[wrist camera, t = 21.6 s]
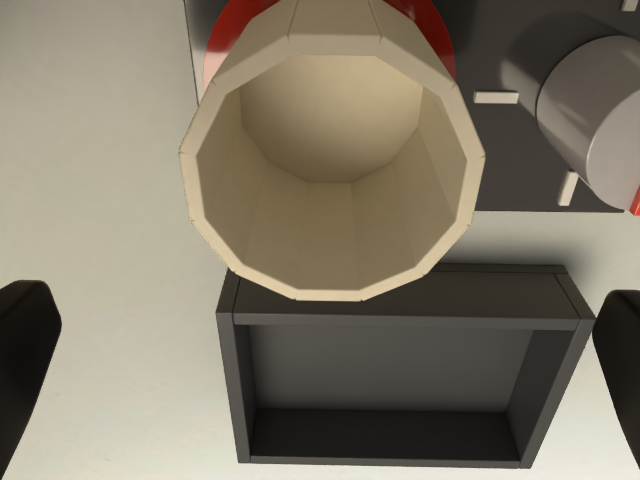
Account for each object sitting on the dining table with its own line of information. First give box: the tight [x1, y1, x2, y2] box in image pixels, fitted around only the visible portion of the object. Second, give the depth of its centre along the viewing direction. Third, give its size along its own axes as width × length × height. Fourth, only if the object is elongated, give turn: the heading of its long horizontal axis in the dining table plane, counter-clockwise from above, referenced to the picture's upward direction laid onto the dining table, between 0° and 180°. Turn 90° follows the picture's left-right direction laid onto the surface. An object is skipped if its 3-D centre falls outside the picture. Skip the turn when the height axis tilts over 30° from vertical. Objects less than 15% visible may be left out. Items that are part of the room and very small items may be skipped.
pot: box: [179, 0, 486, 301], centre depth 14 cm, size 7×7×6 cm
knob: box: [537, 35, 640, 216], centre depth 15 cm, size 4×4×4 cm
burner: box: [203, 0, 456, 93], centre depth 17 cm, size 8×8×1 cm
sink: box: [216, 264, 597, 469], centre depth 25 cm, size 16×11×4 cm
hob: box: [184, 0, 640, 213], centre depth 17 cm, size 18×9×2 cm, turn 90°
